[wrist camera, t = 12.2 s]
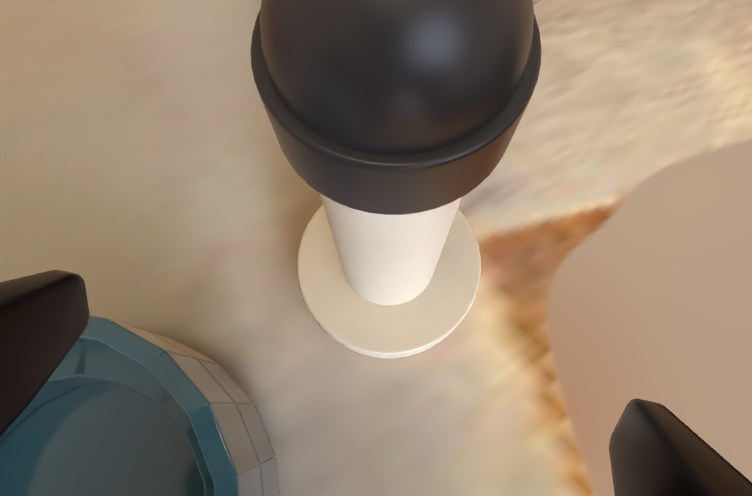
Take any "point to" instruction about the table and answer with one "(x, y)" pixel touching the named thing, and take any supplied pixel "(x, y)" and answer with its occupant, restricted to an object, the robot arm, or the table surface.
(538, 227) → the table surface
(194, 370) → the bowl
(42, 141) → the table surface
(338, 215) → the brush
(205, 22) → the table surface
